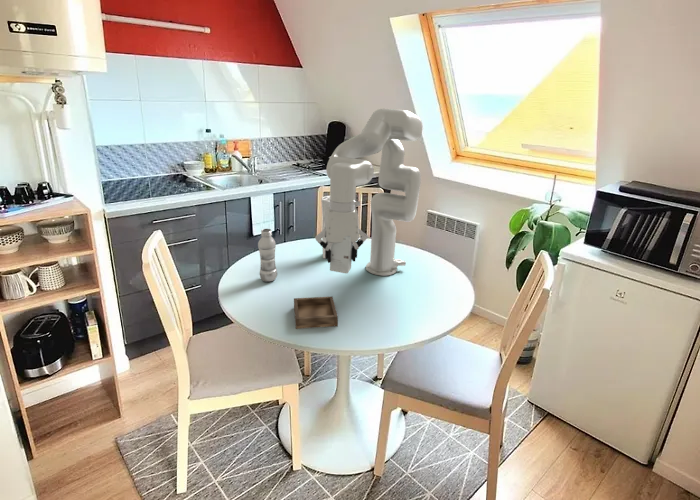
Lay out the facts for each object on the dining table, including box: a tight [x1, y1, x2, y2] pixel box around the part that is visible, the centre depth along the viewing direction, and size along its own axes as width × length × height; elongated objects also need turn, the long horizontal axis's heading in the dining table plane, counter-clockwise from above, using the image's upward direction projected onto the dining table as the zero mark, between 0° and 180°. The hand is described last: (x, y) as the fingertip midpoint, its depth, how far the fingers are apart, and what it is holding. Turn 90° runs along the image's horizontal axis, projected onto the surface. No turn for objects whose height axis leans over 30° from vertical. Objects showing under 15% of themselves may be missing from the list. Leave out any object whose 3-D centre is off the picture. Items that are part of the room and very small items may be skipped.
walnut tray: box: [293, 296, 339, 330], centre depth 142 cm, size 13×13×4 cm
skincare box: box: [329, 236, 353, 274], centre depth 136 cm, size 6×4×12 cm
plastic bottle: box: [257, 228, 278, 283], centre depth 162 cm, size 6×7×20 cm
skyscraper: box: [320, 195, 331, 260], centre depth 183 cm, size 8×8×28 cm
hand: (341, 259), depth 137 cm, fingers closed on skincare box, 7 cm apart
